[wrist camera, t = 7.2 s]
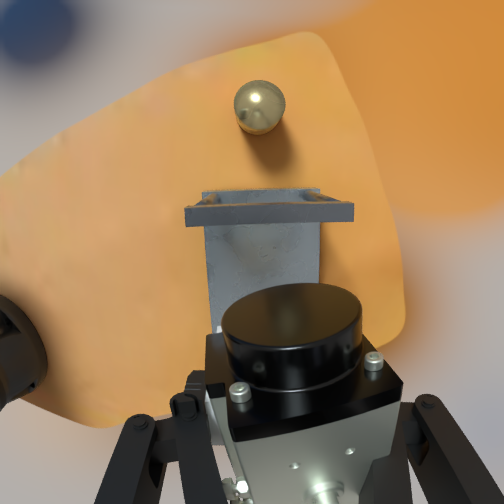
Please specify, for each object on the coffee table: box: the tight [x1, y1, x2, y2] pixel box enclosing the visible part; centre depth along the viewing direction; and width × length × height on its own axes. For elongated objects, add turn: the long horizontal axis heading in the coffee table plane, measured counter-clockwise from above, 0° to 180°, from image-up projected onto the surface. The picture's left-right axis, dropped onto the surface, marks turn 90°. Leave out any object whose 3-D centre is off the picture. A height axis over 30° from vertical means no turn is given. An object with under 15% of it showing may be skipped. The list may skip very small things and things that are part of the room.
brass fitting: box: [234, 80, 285, 135], centre depth 25 cm, size 4×4×5 cm
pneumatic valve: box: [205, 283, 403, 504], centre depth 13 cm, size 6×12×12 cm, turn 9°
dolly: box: [184, 187, 354, 334], centre depth 25 cm, size 10×16×14 cm, turn 2°
